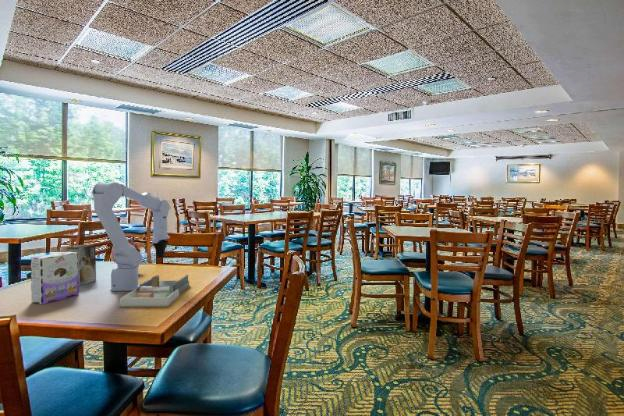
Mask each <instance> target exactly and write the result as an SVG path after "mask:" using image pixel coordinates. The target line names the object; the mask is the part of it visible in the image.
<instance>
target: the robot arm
mask: <svg viewBox="0 0 624 416" xmlns="http://www.w3.org/2000/svg"><path fill="white" fill-rule="evenodd" d="M91 195H92V197H93V208H94V212H95V214H96V216H97V217H98V219H99V221H100V223H101V225H102V227H103V229H104V231H105V233H106V234H107V235H106V236H108V238H109V240H110V242H111V244H112V246H113V248H114V249H113V250H112V253H113V260H114V263H115V264H116V265H117V266H115V267H113V268H112V270H111V273H110V288H111V289H110V292H111V291H113V292H117V291H119V292H122V291H124V292H125V291H128V292H131V291H133V290H135V289H136V290H137V289H140V284H139V267H140V265H141V263H142V261H143V255H142V253H141V251H140V252H138V251H137V250H136V248H135V247H134V246H133V245H131V244H130V243H129V242H130V241H129V240H128V238H127V236H126V234H125V232H124V230H123V228H122V226H121V224H120V222H119V221H118V217H116V215H115V213H114V210H113V208H114V206H115V205H116V203H117V202H119V200H120V198H122V197H124V198H128V199H130V200H134V201H135V202H136V201H137V203H138V205H139V206H140V207H143V208H146V209H149V210H150V211H151V212H152V213H153V214H152V215H153V217H152V224H153V225H152V226H153V229H152V230H153V234H152V235H153V236H152V238H151V244H152V245H153V246H154V248H155V253H156V257H157V258H160V259H161V258H164V256H165V252H166V248H167V246H168V244H169V240H168V239H170V238H171V236H169V234H168V216H169V211H170V210H171V205H170V203H169V201H167V200H166V199H161V198H160V197H159V196H154V195H152V193H150V192H143V193H140V192H138V191H137V190H135V189H133V188H130V187H128V186H126V184H122V183H119V182H117V181H116V182H114V181H113V182H97V183H95V185H94V186H93V188H92V191H91Z"/></svg>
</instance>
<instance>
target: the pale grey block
mask: <svg viewBox="0 0 624 416" xmlns="http://www.w3.org/2000/svg"><path fill="white" fill-rule="evenodd" d="M151 278H152V286H141V287H139V291H140V292H154V291H171V286H159V281H160V275H158V276H155V275H153V276H152V277H151Z"/></svg>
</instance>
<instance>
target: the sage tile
mask: <svg viewBox="0 0 624 416" xmlns="http://www.w3.org/2000/svg"><path fill="white" fill-rule="evenodd" d="M168 296H169V291H158V292H157V293H155V294H154V298H167V297H168Z"/></svg>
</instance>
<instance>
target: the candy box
mask: <svg viewBox="0 0 624 416" xmlns="http://www.w3.org/2000/svg"><path fill="white" fill-rule="evenodd" d="M30 279H31V280H30V281H31V286H30V287H31V288H30V289H31V303H34V304H37V305H38V304H39V305H46V304H49V303H51V302H53V303H54V302H56V301H59V300H63V299H66V298H71V297H74V296H78V295H79V294H80V287H79V281H78V252H67V251H65V252H64V251H63V252H57V253H51V254H50V253H49V254H44V255H37V256H32V257H30Z"/></svg>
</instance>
